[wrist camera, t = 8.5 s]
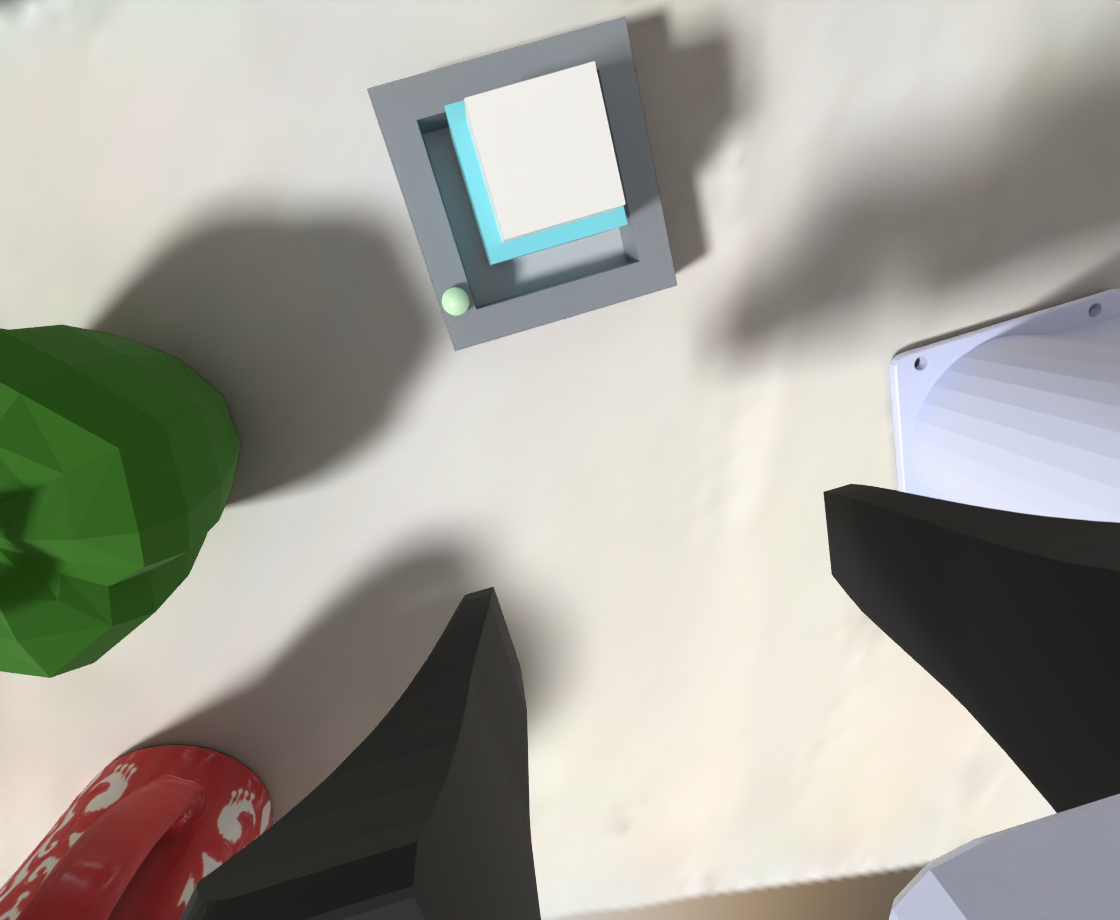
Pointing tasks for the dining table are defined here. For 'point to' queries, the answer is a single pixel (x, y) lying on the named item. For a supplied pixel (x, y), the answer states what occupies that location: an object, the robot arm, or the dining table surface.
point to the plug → (538, 162)
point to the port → (448, 219)
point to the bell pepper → (99, 489)
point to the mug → (140, 838)
